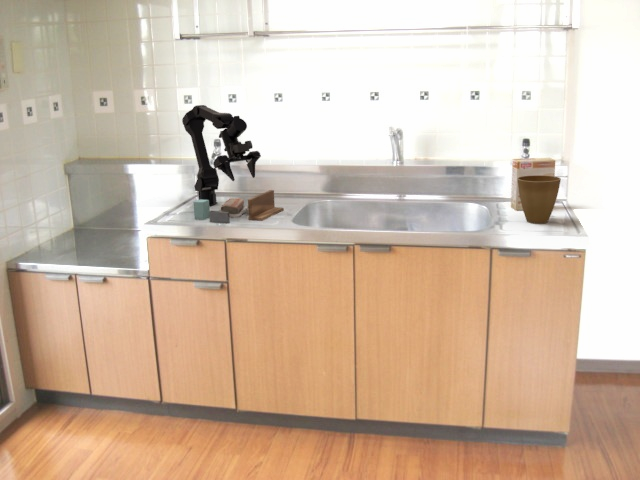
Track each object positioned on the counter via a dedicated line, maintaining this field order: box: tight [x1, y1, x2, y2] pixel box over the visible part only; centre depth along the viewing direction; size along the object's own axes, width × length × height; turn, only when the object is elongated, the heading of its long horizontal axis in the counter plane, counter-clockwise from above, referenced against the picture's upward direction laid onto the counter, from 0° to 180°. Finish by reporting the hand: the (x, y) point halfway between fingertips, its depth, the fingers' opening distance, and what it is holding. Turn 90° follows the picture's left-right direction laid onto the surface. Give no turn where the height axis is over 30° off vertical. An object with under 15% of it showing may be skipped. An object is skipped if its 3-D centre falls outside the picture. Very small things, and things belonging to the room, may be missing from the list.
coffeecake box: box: [510, 157, 556, 211], centre depth 278 cm, size 15×7×20 cm, turn 92°
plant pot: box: [517, 175, 562, 224], centre depth 257 cm, size 15×15×16 cm
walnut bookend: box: [247, 189, 284, 222], centre depth 280 cm, size 6×20×8 cm, turn 158°
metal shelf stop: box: [208, 210, 231, 224], centre depth 269 cm, size 8×1×4 cm, turn 69°
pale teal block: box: [193, 199, 211, 221], centre depth 276 cm, size 4×5×7 cm
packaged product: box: [218, 197, 248, 218], centre depth 287 cm, size 18×5×10 cm
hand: (244, 179), depth 277 cm, fingers open, 9 cm apart
